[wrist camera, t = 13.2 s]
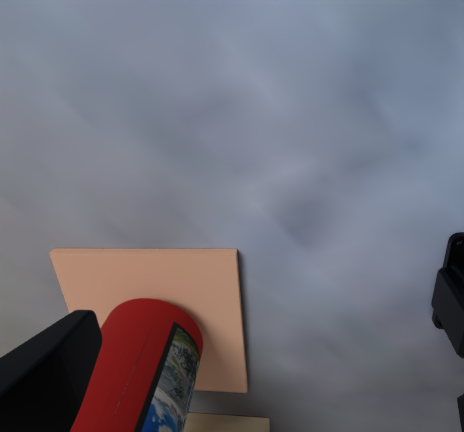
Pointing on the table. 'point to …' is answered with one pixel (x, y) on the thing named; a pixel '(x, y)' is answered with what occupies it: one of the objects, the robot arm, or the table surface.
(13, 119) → the table surface
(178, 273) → the mat
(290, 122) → the table surface
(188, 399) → the beverage can
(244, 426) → the holder
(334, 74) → the table surface
